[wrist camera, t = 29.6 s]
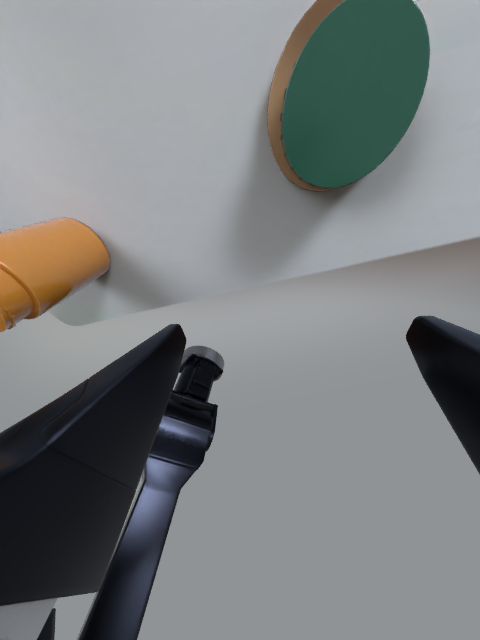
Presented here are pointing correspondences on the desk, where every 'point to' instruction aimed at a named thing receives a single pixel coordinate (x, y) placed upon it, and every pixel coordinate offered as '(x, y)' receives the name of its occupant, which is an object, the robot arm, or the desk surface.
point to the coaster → (289, 56)
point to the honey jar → (46, 266)
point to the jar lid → (354, 90)
